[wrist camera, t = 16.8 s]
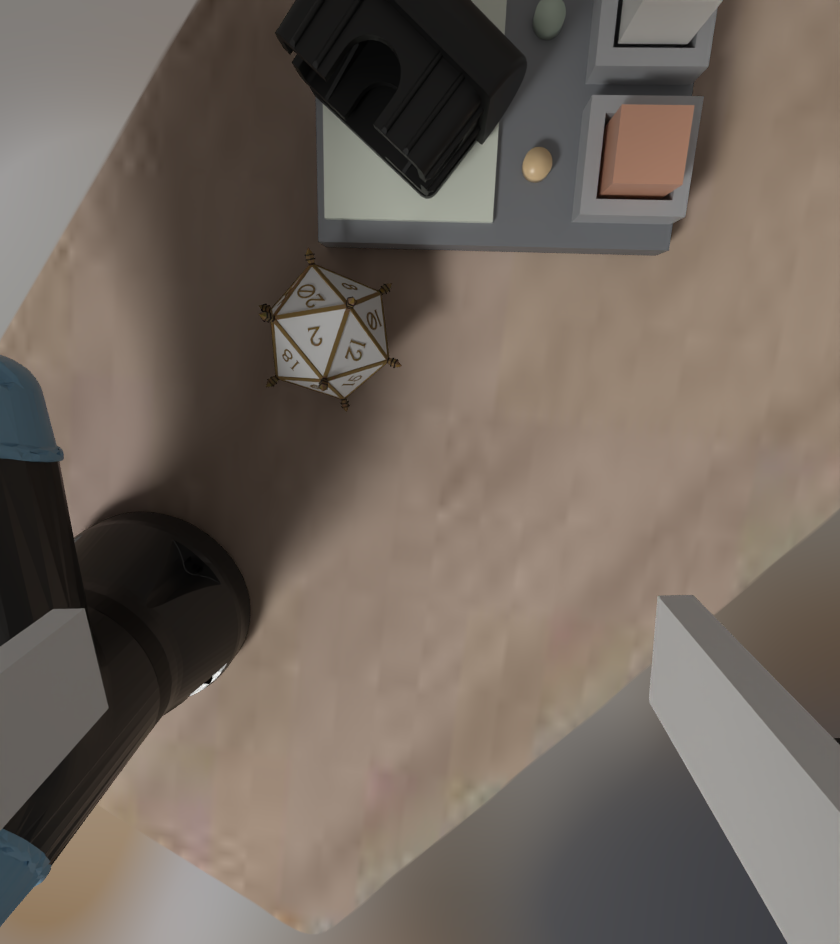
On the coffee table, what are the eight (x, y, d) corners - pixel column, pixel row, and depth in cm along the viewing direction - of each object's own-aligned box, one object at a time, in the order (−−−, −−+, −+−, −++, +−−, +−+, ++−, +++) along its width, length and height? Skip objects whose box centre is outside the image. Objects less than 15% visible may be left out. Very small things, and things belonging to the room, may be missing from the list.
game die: (326, 336, 38) (201, 299, 30) (403, 259, 34) (279, 193, 26) (364, 438, 36) (238, 426, 28) (453, 370, 31) (333, 333, 23)
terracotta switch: (594, 200, 29) (612, 183, 26) (601, 131, 28) (621, 104, 25) (655, 202, 29) (682, 184, 26) (665, 132, 28) (694, 105, 25)
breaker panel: (326, 247, 33) (309, 235, 29) (321, -48, 29) (301, -106, 25) (655, 255, 32) (683, 244, 28) (699, -48, 28) (739, -110, 24)
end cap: (519, 102, 28) (539, 32, 22) (434, 209, 30) (430, 174, 23) (381, -37, 27) (359, -156, 20) (301, 83, 29) (257, 9, 22)
